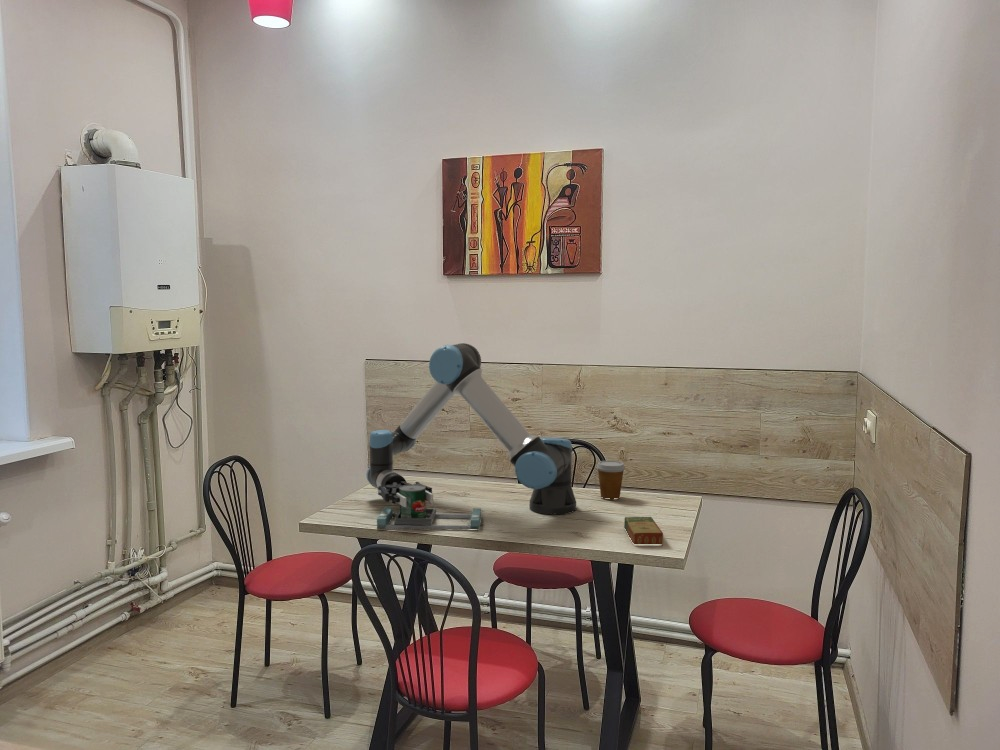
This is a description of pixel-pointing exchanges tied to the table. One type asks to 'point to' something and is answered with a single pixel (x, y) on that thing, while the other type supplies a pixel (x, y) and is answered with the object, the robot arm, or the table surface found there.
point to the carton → (643, 530)
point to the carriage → (416, 519)
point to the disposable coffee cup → (610, 478)
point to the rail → (400, 526)
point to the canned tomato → (413, 501)
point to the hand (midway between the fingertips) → (418, 500)
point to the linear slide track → (388, 511)
